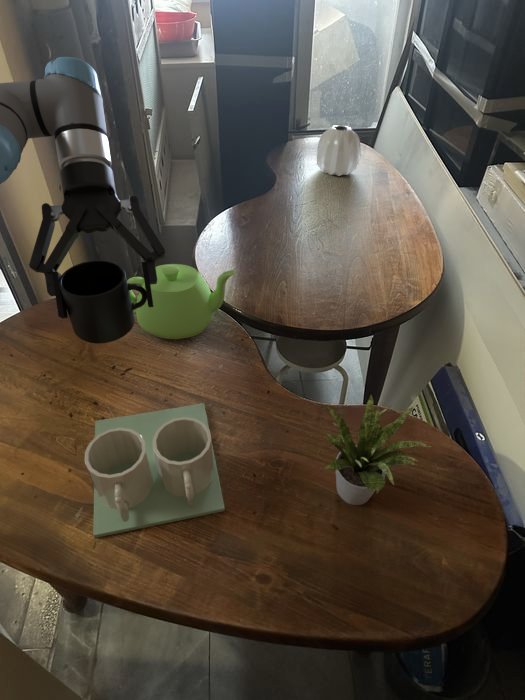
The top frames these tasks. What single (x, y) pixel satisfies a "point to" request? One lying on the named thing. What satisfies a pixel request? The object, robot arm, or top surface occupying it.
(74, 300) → the mug
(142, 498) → the cream mug left
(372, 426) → the house plant
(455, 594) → the top surface
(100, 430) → the mug mat
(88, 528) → the top surface
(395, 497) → the top surface
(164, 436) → the cream mug right
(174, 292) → the teapot
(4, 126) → the robot arm
